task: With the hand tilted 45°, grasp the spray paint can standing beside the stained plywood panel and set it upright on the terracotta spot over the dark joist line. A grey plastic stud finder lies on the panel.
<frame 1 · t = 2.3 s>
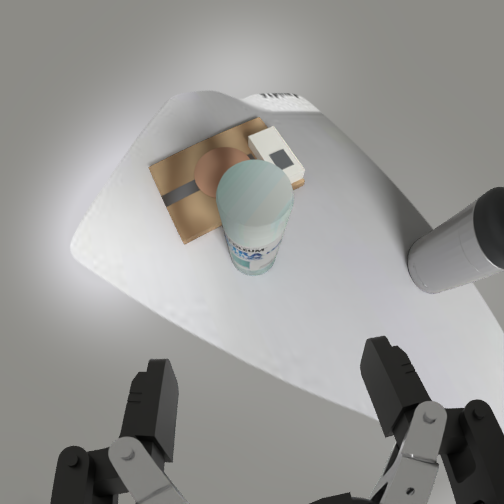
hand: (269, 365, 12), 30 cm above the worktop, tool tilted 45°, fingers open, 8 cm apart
spray paint can: (253, 254, 45), on the worktop
plywood panel: (224, 176, 48), on the worktop
stud finder: (274, 161, 47), point 1 cm above the worktop, touching plywood panel
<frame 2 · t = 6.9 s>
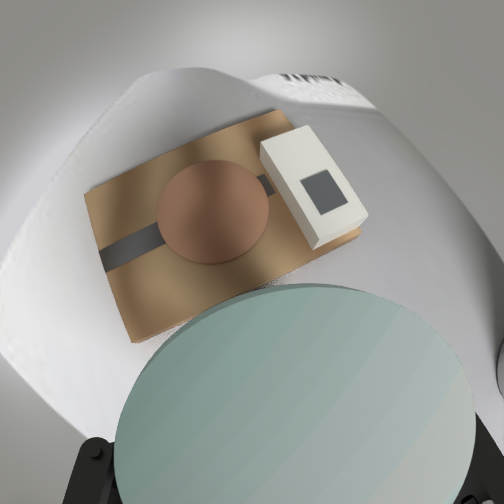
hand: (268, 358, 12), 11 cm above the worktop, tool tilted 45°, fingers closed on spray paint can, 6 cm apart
spray paint can: (261, 370, 23), on the worktop, touching gripper
plywood panel: (213, 216, 26), on the worktop
stud finder: (308, 191, 25), point 1 cm above the worktop, touching plywood panel
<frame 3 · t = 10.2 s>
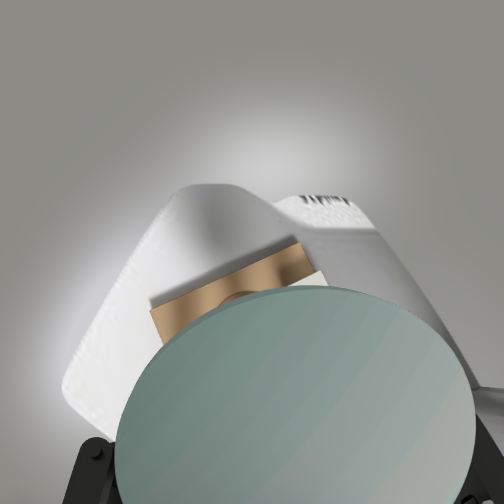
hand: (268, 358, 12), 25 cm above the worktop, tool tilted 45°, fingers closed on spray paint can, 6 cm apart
spray paint can: (261, 371, 23), point 14 cm above the worktop, touching gripper
plywood panel: (249, 330, 37), on the worktop
stud finder: (316, 316, 36), point 1 cm above the worktop, touching plywood panel
when the fingers open (14 cm above the worktop, at t = 13.8 s): spray paint can drops 1 cm, resting on plywood panel.
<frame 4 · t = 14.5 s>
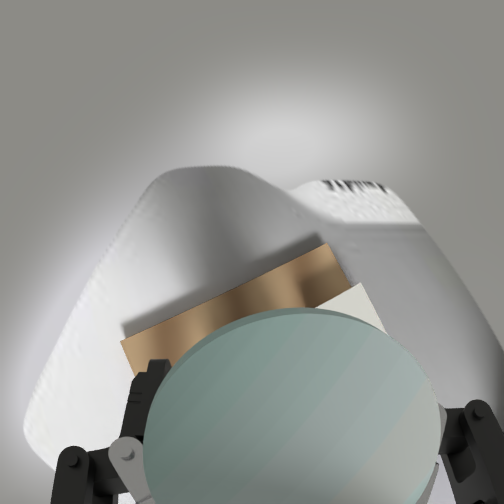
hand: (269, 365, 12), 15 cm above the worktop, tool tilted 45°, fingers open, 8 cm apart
spray paint can: (262, 372, 24), point 1 cm above the worktop, touching plywood panel
plywood panel: (260, 368, 26), on the worktop
stud finder: (353, 346, 25), point 1 cm above the worktop, touching plywood panel
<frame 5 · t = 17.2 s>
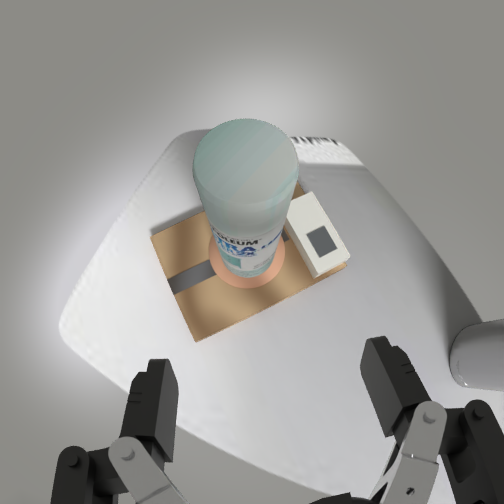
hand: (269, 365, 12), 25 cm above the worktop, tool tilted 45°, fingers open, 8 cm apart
spray paint can: (247, 252, 37), point 1 cm above the worktop, touching plywood panel
plywood panel: (247, 254, 39), on the worktop
stud finder: (311, 238, 38), point 1 cm above the worktop, touching plywood panel
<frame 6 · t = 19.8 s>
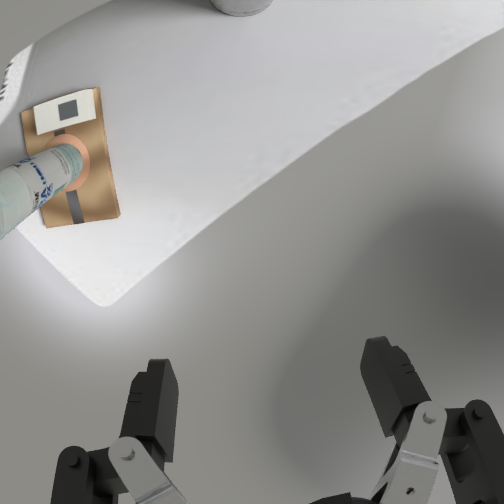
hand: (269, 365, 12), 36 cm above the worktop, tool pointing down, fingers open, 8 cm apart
spray paint can: (66, 162, 39), point 1 cm above the worktop, touching plywood panel
plywood panel: (69, 160, 41), on the worktop
stud finder: (67, 111, 36), point 1 cm above the worktop, touching plywood panel
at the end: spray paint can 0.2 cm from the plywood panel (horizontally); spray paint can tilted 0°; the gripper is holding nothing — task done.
